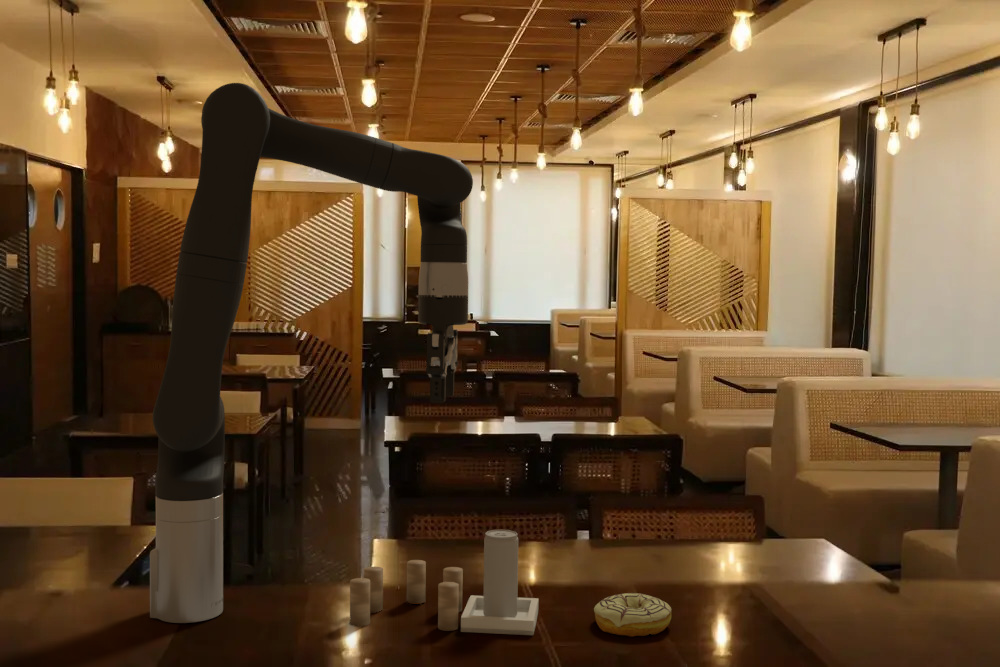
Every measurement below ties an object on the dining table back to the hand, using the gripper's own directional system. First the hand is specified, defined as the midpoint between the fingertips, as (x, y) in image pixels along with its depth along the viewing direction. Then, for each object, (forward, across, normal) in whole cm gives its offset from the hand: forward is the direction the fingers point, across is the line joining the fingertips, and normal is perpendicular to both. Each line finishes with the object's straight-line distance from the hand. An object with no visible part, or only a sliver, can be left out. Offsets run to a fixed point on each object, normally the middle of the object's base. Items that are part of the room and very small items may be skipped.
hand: (442, 399), depth 154 cm
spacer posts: (+30, +9, -3) cm, 32 cm away
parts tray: (+30, +11, +10) cm, 34 cm away
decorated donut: (+30, +10, +29) cm, 43 cm away
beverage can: (+30, +11, +10) cm, 33 cm away
